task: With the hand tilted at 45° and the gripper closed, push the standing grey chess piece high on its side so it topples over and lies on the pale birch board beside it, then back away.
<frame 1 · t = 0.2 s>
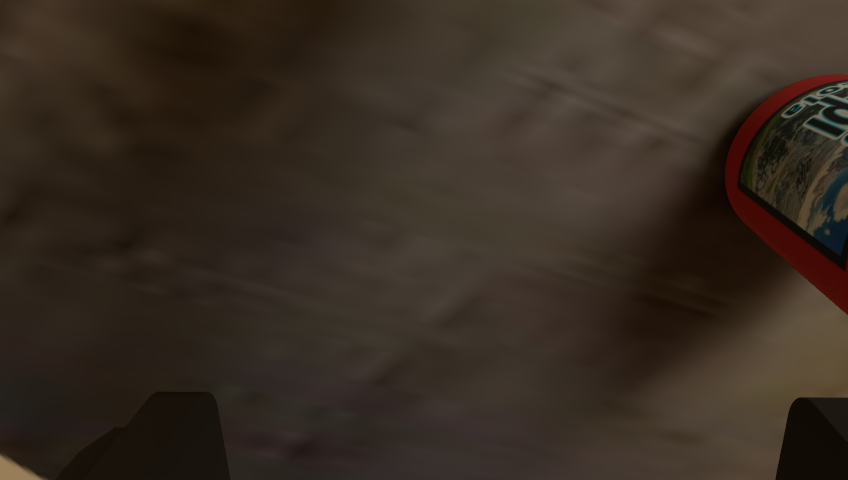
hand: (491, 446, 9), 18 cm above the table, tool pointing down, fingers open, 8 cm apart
beverage can: (800, 155, 25), on the table
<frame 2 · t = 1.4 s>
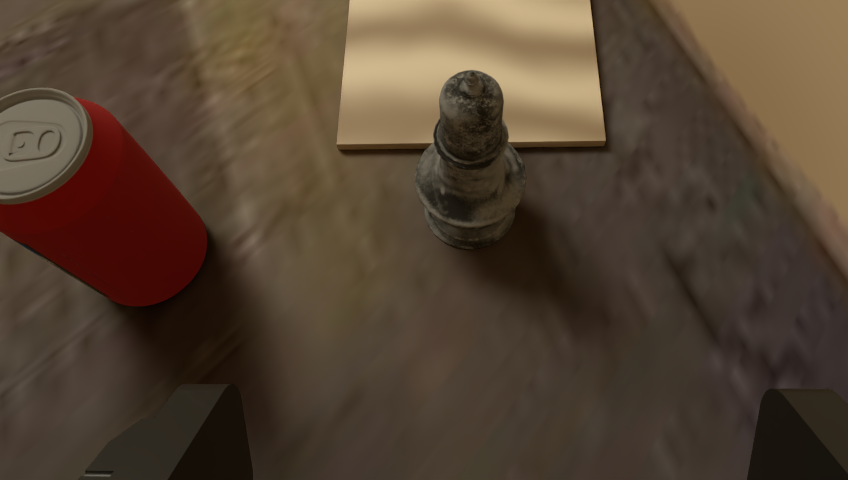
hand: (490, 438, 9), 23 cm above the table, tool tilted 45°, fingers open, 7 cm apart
beverage can: (157, 257, 36), on the table
grey chess piece: (469, 209, 36), on the table
birch board: (468, 44, 41), on the table
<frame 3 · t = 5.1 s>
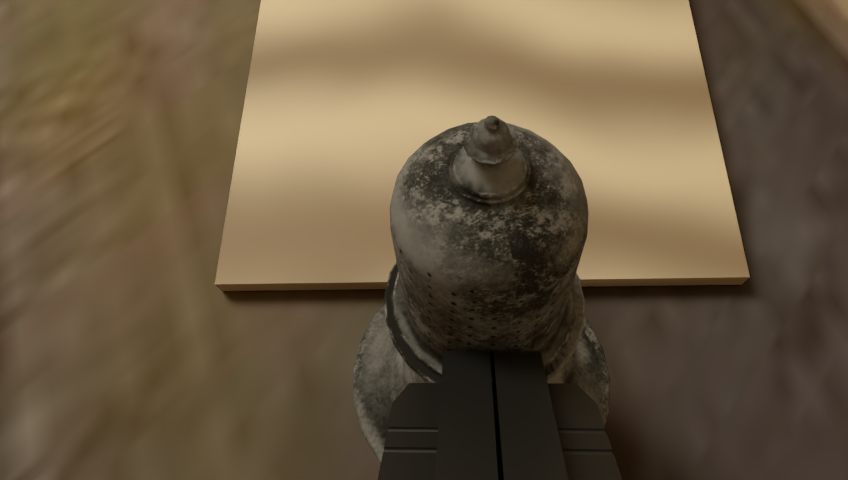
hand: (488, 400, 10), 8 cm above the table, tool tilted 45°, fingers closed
grey chess piece: (477, 421, 18), on the table, touching gripper
birch board: (469, 80, 23), on the table
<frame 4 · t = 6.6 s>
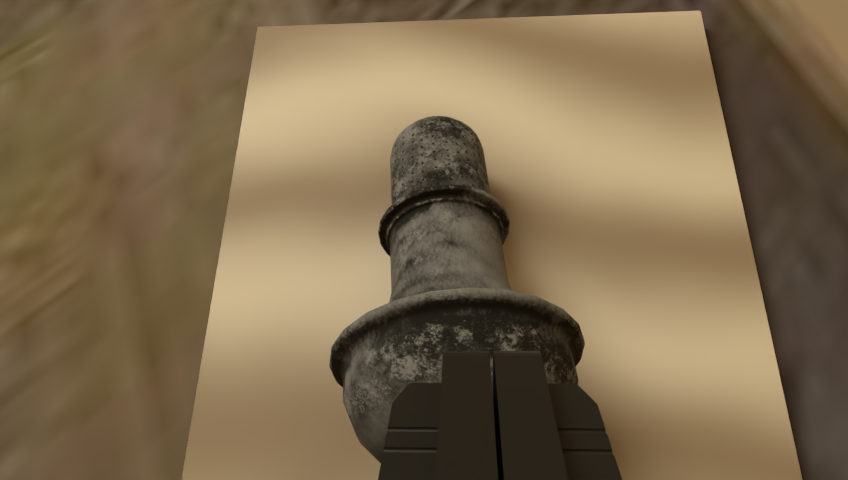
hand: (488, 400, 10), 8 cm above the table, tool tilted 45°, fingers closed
birch board: (477, 224, 20), on the table
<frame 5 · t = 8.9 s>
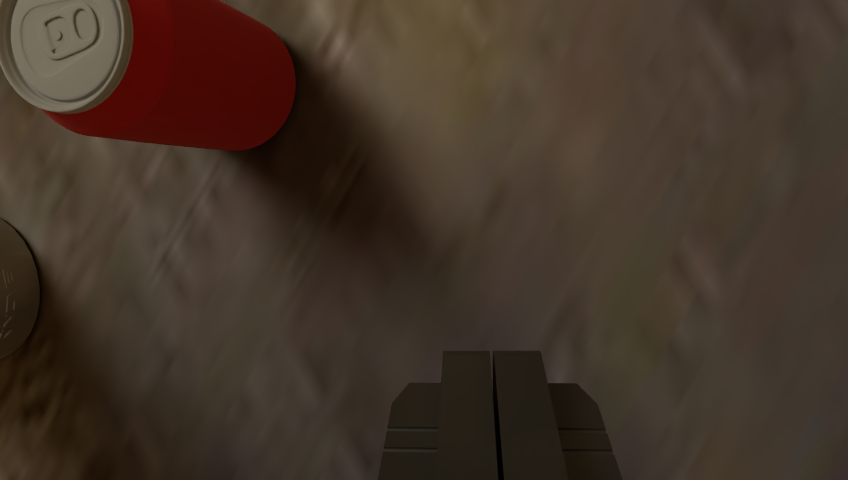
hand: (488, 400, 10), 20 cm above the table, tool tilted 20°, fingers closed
beverage can: (246, 87, 33), on the table
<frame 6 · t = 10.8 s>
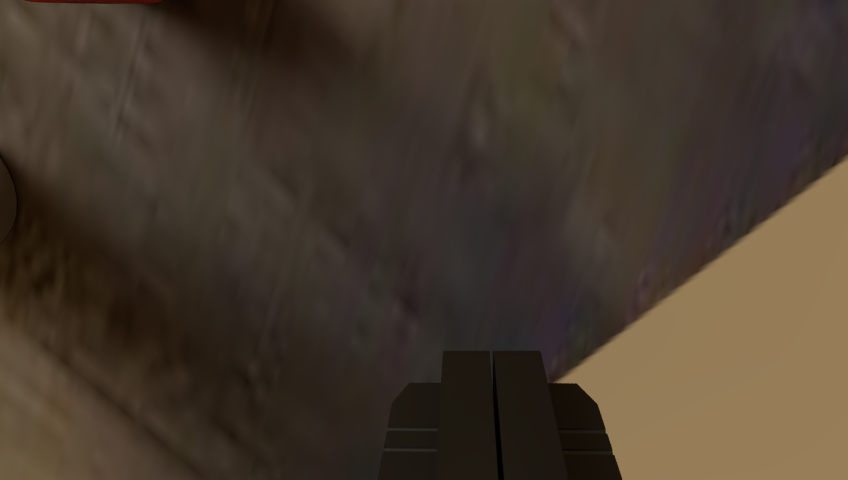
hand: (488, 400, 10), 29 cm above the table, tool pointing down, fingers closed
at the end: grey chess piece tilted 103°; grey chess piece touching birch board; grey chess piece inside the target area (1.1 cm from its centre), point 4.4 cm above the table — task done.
